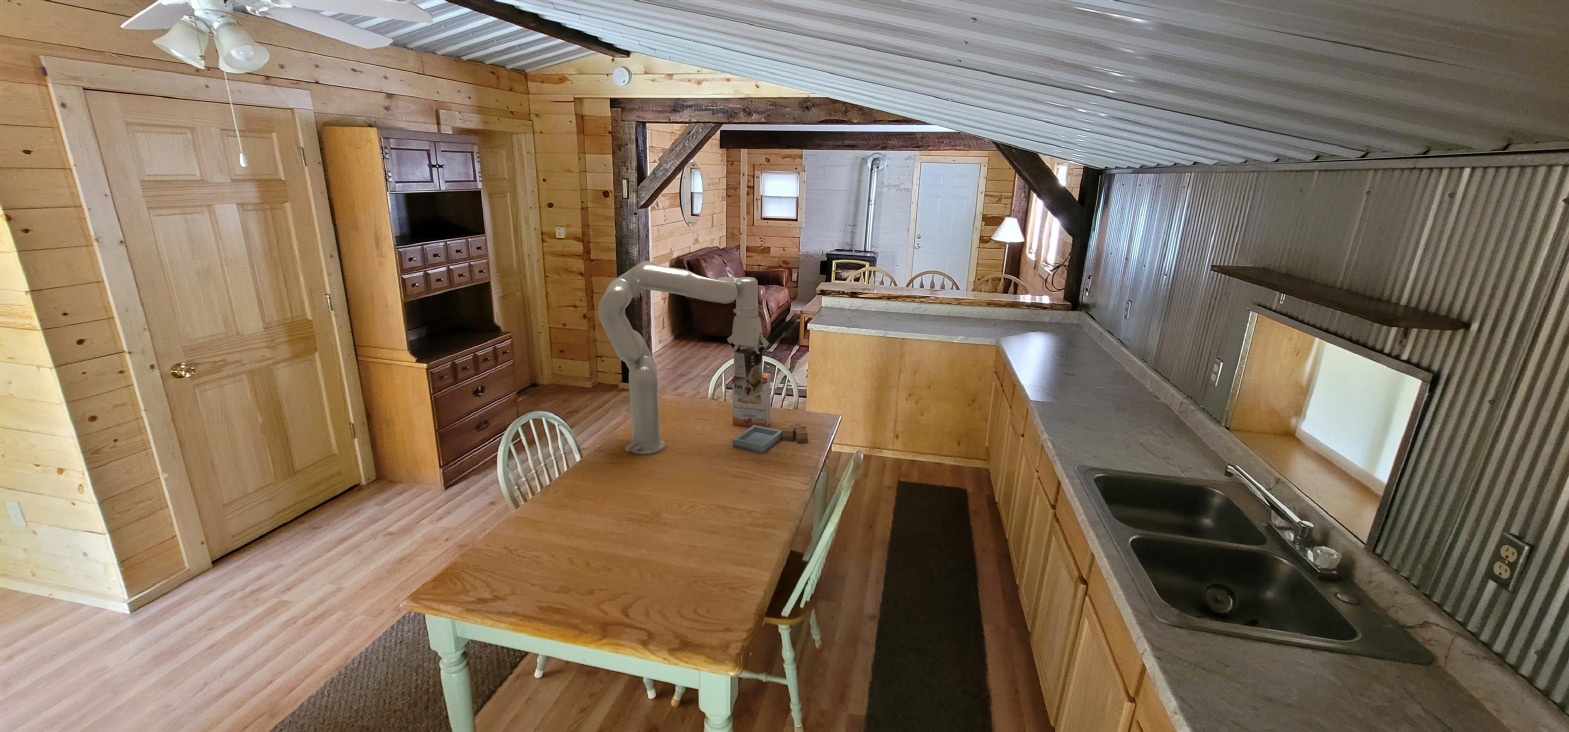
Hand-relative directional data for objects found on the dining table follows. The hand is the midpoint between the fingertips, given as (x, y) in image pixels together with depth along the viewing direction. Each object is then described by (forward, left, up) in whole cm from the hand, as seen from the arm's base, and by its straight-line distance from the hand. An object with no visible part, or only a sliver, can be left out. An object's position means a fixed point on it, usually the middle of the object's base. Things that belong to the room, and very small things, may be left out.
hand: (748, 362), depth 229 cm
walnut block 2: (+13, -14, -30) cm, 36 cm away
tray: (0, -4, -30) cm, 31 cm away
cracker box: (+14, +7, -30) cm, 34 cm away
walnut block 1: (+8, -12, -30) cm, 34 cm away
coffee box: (0, 0, -12) cm, 12 cm away
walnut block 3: (+9, -17, -30) cm, 36 cm away
